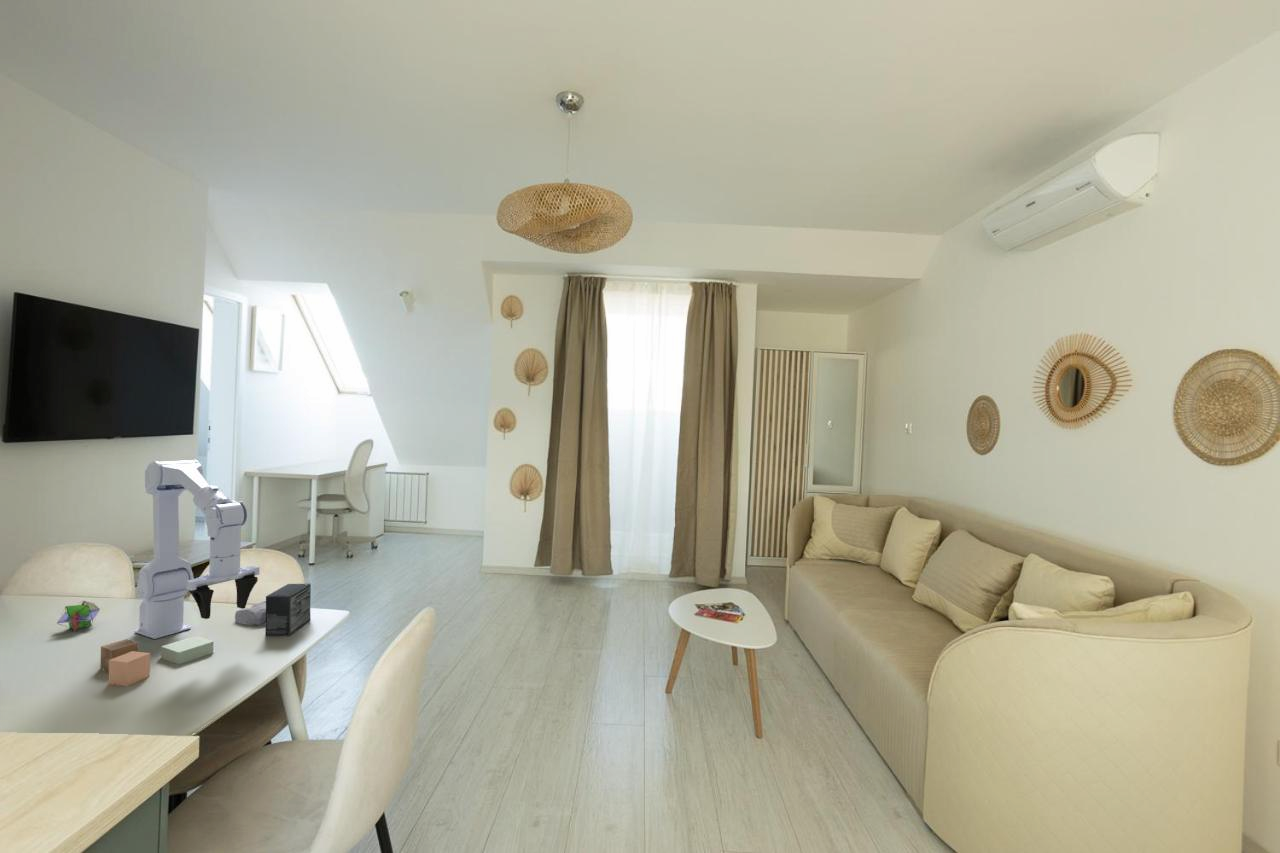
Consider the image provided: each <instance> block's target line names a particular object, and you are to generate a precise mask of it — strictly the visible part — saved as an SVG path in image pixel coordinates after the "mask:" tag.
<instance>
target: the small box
mask: <svg viewBox="0 0 1280 853" xmlns="http://www.w3.org/2000/svg"><path fill="white" fill-rule="evenodd" d="M311 588H312V587H311V583H287V584H286V585H284V586H282V587H280V588H279V589H277V590H274V591H273V592H272V593H269V594H267V595H266V596H265V601H266V623H265V629H264V630H265V631H264V632H265V633H264V634H265V637H285V636H286V637H290V636H292V635H293V634H295V633H296V632H298V630H300V629H301V628H303V627H304V626H306V624H309V623H310V622H311V621H312V620H311V590H312V589H311Z"/></svg>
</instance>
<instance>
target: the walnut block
mask: <svg viewBox="0 0 1280 853" xmlns="http://www.w3.org/2000/svg"><path fill="white" fill-rule="evenodd" d="M138 647H139V646H138V642H136V641H134V640H131V639H128V638H126V639H123V640H122V639H121V640H118V641H115V642H111V643H108V644H104V645H101V646H100V666H99V667H100V668H101V669H100V670H102V669H104V670H103V671H105V670H106V671H105V672H107V671H108V672H107V673H109V660H111V659H113V658H116V657H119V656H121V655H124V654H126V653H129V652H131V651H136V652H139V651H138Z"/></svg>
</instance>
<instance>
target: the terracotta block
mask: <svg viewBox="0 0 1280 853" xmlns="http://www.w3.org/2000/svg"><path fill="white" fill-rule="evenodd" d="M150 672H151V652H142V651H138V652H136V651H131V652H129V653H126V654H124V655H121V656H119V657H116V658H113V659H111V660H109V672H108V685H114V684H116V685H115V686H121V685H123V687H128V686H131V685H132V684H133V685H134V684H135V683H138V682H140V681H142V680H144V679H146V678H149V677H150V674H151V673H150Z"/></svg>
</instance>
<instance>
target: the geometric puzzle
mask: <svg viewBox="0 0 1280 853" xmlns="http://www.w3.org/2000/svg"><path fill="white" fill-rule="evenodd" d="M75 604H76V603H74V605H66V606H64V613H62V615H61V616H60V617H59V619H58V620H57V622H56V624H58V625H59V626H61V627H65V628H66V629H68V630H70V631H72V632H73V633H75V632H77V631H79V629H80V628H81V629H82V628H83V627H92V626H93V624H92V623H94V620H95V618H96V616H97V615H98V614H99V612H100V610H101V609H100V607H98V605H96V604H95V603H94V602H92V601H91V602H89V601H87V600H86V601H85V600H82V602H78V604H76V605H75ZM64 623H68V626H67V625H64Z"/></svg>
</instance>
